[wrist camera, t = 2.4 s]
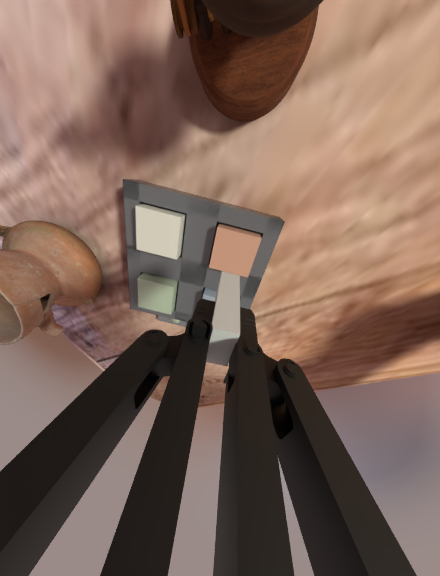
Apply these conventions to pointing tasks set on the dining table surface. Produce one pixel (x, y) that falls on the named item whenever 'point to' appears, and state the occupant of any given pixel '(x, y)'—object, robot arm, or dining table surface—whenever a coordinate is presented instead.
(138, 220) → the cream key
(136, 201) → the keypad
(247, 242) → the terracotta key
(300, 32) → the music box
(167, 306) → the sage key
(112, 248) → the dining table surface
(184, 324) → the plaque
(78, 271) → the ceramic jug
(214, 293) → the slate key
